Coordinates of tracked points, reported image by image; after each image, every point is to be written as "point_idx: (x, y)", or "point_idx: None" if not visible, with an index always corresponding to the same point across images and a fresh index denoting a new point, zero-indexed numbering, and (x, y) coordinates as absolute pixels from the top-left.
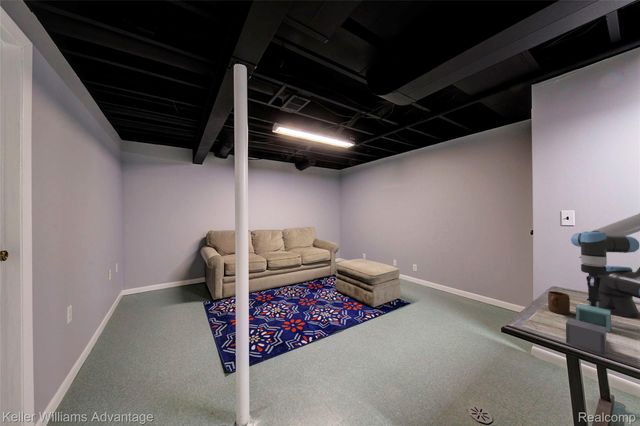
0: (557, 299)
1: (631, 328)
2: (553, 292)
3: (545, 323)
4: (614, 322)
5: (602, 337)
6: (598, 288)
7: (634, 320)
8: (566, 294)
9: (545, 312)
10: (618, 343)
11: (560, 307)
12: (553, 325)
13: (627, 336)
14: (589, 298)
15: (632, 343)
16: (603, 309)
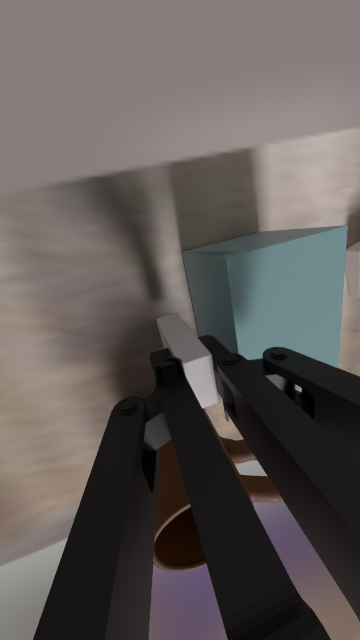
0: (245, 476)
1: (75, 193)
2: (174, 558)
3: (345, 365)
4: (60, 273)
5: None
6: (114, 572)
7: None
8: (165, 524)
9: (232, 429)
10: (353, 178)
11: (216, 431)
12: (344, 348)
13: (239, 175)
14: (301, 396)
15: (312, 142)
16: (254, 289)
